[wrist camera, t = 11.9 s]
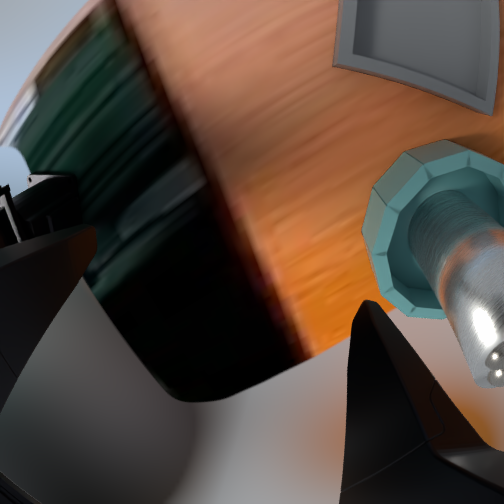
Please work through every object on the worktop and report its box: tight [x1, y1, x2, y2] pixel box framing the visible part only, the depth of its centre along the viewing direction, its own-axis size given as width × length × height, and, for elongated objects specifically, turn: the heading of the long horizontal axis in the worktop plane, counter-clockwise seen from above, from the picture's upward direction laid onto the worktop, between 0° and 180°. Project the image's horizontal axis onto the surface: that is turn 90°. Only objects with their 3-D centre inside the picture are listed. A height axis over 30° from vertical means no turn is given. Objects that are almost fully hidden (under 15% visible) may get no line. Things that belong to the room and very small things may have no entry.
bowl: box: [362, 139, 504, 319], centre depth 19 cm, size 13×13×4 cm
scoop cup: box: [408, 190, 504, 388], centre depth 14 cm, size 6×6×13 cm
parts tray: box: [332, 0, 500, 116], centre depth 12 cm, size 11×11×2 cm
